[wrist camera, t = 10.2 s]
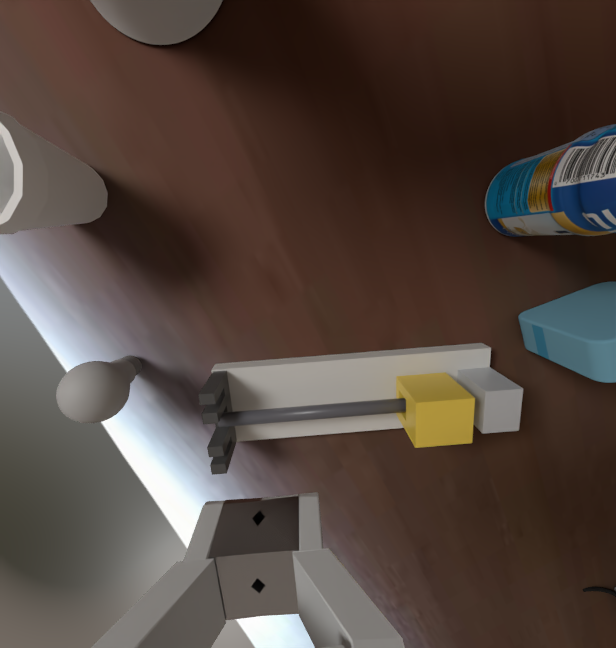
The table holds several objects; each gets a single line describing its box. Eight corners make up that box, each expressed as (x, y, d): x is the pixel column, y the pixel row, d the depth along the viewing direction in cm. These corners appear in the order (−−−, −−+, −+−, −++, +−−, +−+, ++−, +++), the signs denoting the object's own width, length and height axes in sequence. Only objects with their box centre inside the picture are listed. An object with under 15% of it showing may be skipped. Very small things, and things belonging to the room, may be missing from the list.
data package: (519, 346, 41) (607, 388, 29) (511, 315, 40) (600, 345, 28) (611, 312, 40) (739, 340, 28) (605, 279, 39) (736, 294, 27)
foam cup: (23, 213, 35) (-132, 196, 22) (45, 128, 33) (-111, 57, 20) (108, 251, 36) (7, 255, 24) (133, 172, 34) (39, 131, 22)
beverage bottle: (536, 143, 35) (835, 17, 15) (564, 210, 37) (864, 174, 17) (468, 188, 36) (670, 124, 16) (499, 252, 38) (714, 261, 18)
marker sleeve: (396, 376, 38) (416, 402, 32) (445, 372, 38) (475, 398, 32) (396, 414, 40) (415, 447, 33) (443, 410, 40) (472, 443, 33)
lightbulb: (169, 366, 40) (122, 411, 29) (134, 394, 41) (77, 447, 30) (133, 329, 38) (71, 362, 28) (98, 359, 39) (24, 402, 29)
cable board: (215, 363, 40) (195, 392, 32) (481, 343, 40) (525, 366, 33) (226, 433, 42) (210, 476, 35) (477, 413, 43) (516, 450, 35)
